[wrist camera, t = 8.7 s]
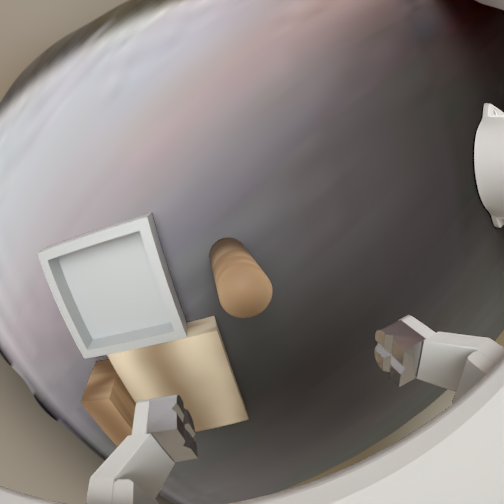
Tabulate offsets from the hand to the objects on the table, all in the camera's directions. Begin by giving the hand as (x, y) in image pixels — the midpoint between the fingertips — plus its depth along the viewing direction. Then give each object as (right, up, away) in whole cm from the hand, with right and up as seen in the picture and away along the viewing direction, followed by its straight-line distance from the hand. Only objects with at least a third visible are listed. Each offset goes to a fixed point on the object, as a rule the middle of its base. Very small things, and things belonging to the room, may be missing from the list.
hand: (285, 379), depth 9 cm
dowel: (-3, +4, +14) cm, 15 cm away
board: (-8, -8, +17) cm, 20 cm away
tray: (-13, +1, +13) cm, 18 cm away
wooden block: (-14, -10, +16) cm, 23 cm away
